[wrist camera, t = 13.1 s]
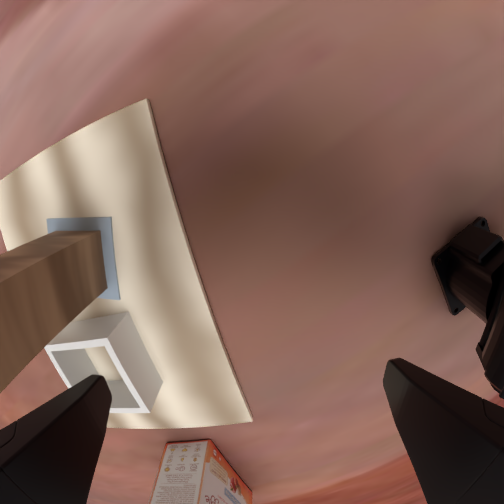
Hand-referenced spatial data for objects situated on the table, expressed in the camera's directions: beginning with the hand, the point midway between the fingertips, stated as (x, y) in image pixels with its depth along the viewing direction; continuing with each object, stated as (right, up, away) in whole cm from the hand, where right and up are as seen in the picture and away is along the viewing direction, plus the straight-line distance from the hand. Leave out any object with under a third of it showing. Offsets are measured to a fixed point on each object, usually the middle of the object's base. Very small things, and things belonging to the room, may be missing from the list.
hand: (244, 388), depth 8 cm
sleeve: (-12, -5, +15) cm, 20 cm away
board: (-12, -1, +14) cm, 19 cm away
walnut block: (-13, +3, +12) cm, 18 cm away
